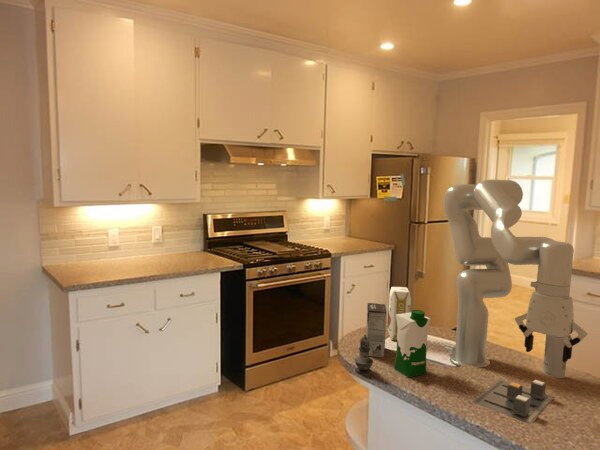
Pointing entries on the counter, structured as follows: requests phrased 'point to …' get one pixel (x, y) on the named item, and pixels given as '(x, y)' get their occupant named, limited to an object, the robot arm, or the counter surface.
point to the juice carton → (397, 308)
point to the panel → (498, 402)
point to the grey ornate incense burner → (364, 358)
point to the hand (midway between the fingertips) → (546, 355)
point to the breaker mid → (513, 391)
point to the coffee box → (376, 328)
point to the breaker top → (538, 389)
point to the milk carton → (412, 343)
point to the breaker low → (521, 405)
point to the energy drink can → (554, 357)
